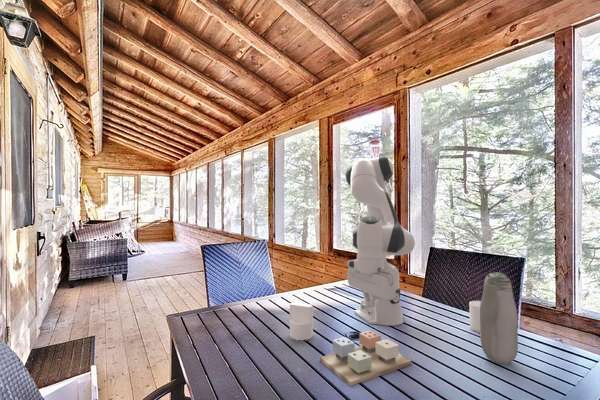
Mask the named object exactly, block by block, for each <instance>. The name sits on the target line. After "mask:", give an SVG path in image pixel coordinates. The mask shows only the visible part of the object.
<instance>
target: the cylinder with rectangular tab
mask: <svg viewBox="0 0 600 400" xmlns="http://www.w3.org/2000/svg"><path fill="white" fill-rule="evenodd" d="M313 305H314V304H310V303H304V302H295V301H293V302H290V303H289V337H290V336H291V337H292V338H293V339H292V338H291V337H290V338H291V339H292V340H294V339H297V340H296V341H298V340H305V339H309V338H311V337H312V336H313V337H314V307H313ZM313 337H312V338H313ZM312 338H311V339H312ZM309 340H310V339H309ZM305 341H306V340H305Z"/></svg>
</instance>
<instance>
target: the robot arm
mask: <svg viewBox="0 0 600 400" xmlns="http://www.w3.org/2000/svg"><path fill="white" fill-rule="evenodd" d="M394 167H395V166H394V163H393V160H391V158H390V157H389V156H387V155H381V156H379V157H373V158H369V159H365V158H364V159H359V160H357V161H355V162H354V163H353V165H350V166H348V167H347V168H346V169H345V173H344V177H345V181H346V182H347V185H348V186H349V187H350V190H351V194H352V196H353V198H354V199H355V200H356V201H358V202H359V203H361V204H364V205H366V210H367V211H366V212H367V216H364V217H361V218H359V219H358V224H357V225H356V226H355V227H354V228H353V229H352V230H351V234H352V247H354V248H355V249H356V250H357V253H356V259H350V260H348V261H347V283H348V285H349V286H350V287H351V288H355V290H356V289H357V290H359V291H362V295H363V298H362V299H361V300H360V305H359V308H357V309H355V311H354V314H355V315H357V316H358V317H360V318H362V319H363V320H364V321H366V322H367V323H369V324H370V325H379V326H380V325H381V326H387V327H389V326H399V325H402V324H403V323H404V314H403V312H402V302H401V292H402V291H401V287H400V271H399V269H398V268H397V267H396V265H393V264H392V263H390V262H388V261H387V257H388V256H403V255H407V254H410V253H412V252H413V250H414V249H415V246H416V242H415V238H414V236H413V234H412V233H411V232H410V231H408V230H407V229H406V228H404V227H403V226H402V225H401V224H400V222H399V219H398V216H397V214H396V211H395V208H394V205H393V203H392V199H391V197H390V196H391V195H390V193H389V190H388V187H387V185H386V183H387V184H388V183H389V182H390V179H392V177H393V176H394V170H395V169H394Z"/></svg>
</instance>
